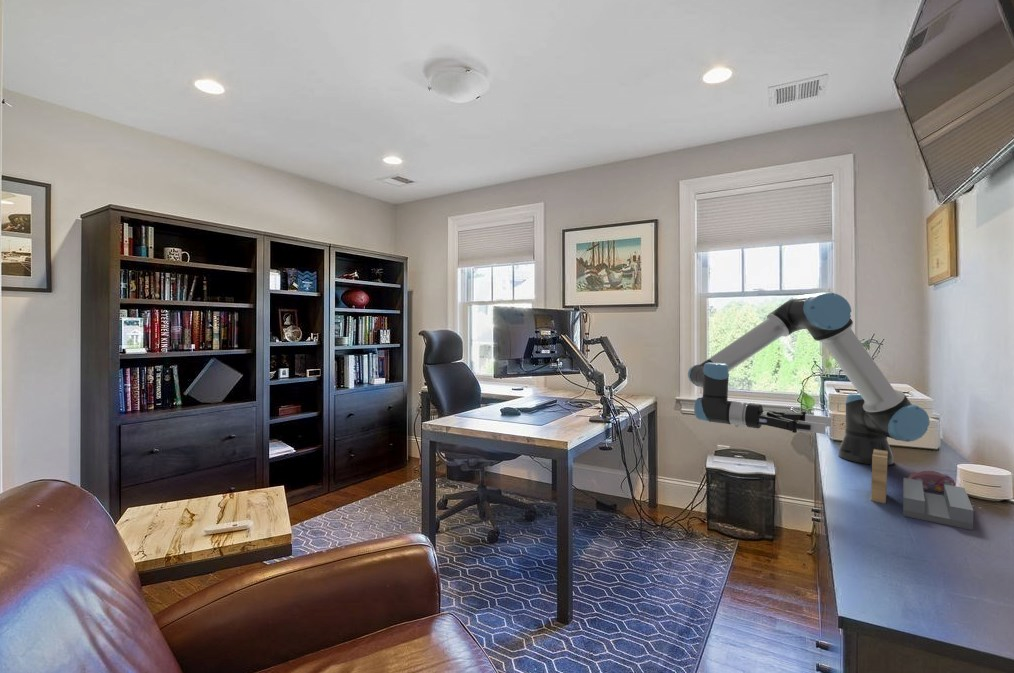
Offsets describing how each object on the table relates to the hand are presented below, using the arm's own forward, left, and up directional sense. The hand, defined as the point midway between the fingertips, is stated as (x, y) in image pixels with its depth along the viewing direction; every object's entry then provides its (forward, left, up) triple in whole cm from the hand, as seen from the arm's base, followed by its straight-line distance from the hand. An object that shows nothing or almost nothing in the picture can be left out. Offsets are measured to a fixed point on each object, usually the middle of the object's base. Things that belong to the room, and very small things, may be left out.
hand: (828, 425), depth 132 cm
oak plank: (0, +12, -18) cm, 21 cm away
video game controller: (-18, +23, -18) cm, 34 cm away
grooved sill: (+2, +23, -18) cm, 29 cm away
